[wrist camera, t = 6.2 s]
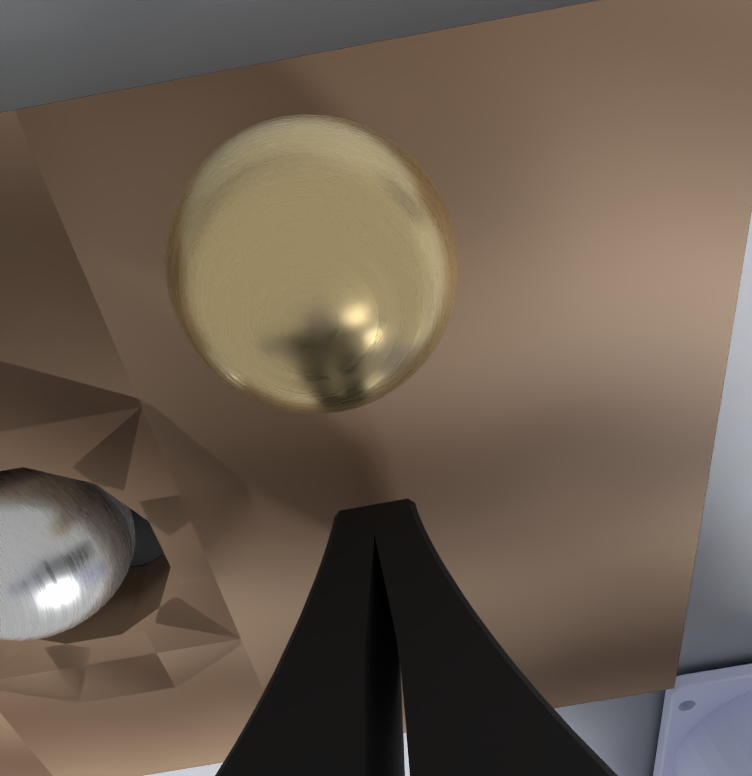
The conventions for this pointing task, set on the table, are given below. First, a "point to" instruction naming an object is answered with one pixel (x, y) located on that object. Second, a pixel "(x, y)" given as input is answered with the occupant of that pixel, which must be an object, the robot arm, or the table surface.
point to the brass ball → (311, 264)
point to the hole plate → (413, 398)
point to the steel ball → (58, 552)
